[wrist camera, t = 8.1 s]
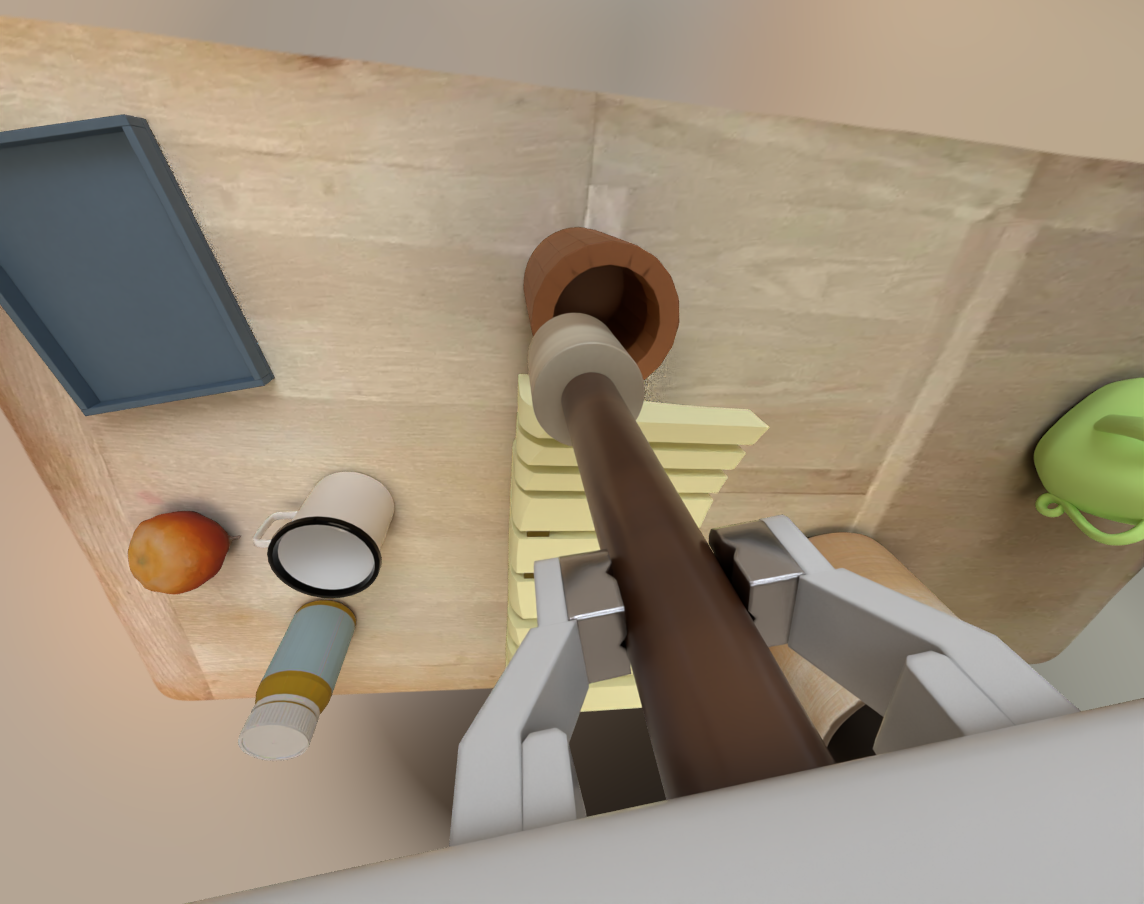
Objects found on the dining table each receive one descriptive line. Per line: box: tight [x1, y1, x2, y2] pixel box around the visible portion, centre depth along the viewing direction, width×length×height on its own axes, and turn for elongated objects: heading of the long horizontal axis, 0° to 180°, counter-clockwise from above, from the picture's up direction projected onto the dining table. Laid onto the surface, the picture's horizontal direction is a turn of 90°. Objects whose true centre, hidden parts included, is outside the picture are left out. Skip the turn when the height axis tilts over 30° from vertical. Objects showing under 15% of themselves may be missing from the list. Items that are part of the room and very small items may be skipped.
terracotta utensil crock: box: [524, 227, 679, 380], centre depth 34 cm, size 9×9×14 cm
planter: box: [769, 532, 960, 764], centre depth 56 cm, size 22×22×20 cm
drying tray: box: [0, 114, 274, 416], centre depth 35 cm, size 19×15×2 cm
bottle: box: [238, 600, 356, 761], centre depth 49 cm, size 7×7×15 cm
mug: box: [253, 472, 394, 598], centre depth 44 cm, size 12×10×9 cm
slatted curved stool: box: [506, 374, 769, 712], centre depth 43 cm, size 30×16×18 cm, turn 174°
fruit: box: [128, 511, 241, 594], centre depth 45 cm, size 8×8×8 cm
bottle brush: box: [527, 313, 836, 800], centre depth 13 cm, size 4×4×19 cm
